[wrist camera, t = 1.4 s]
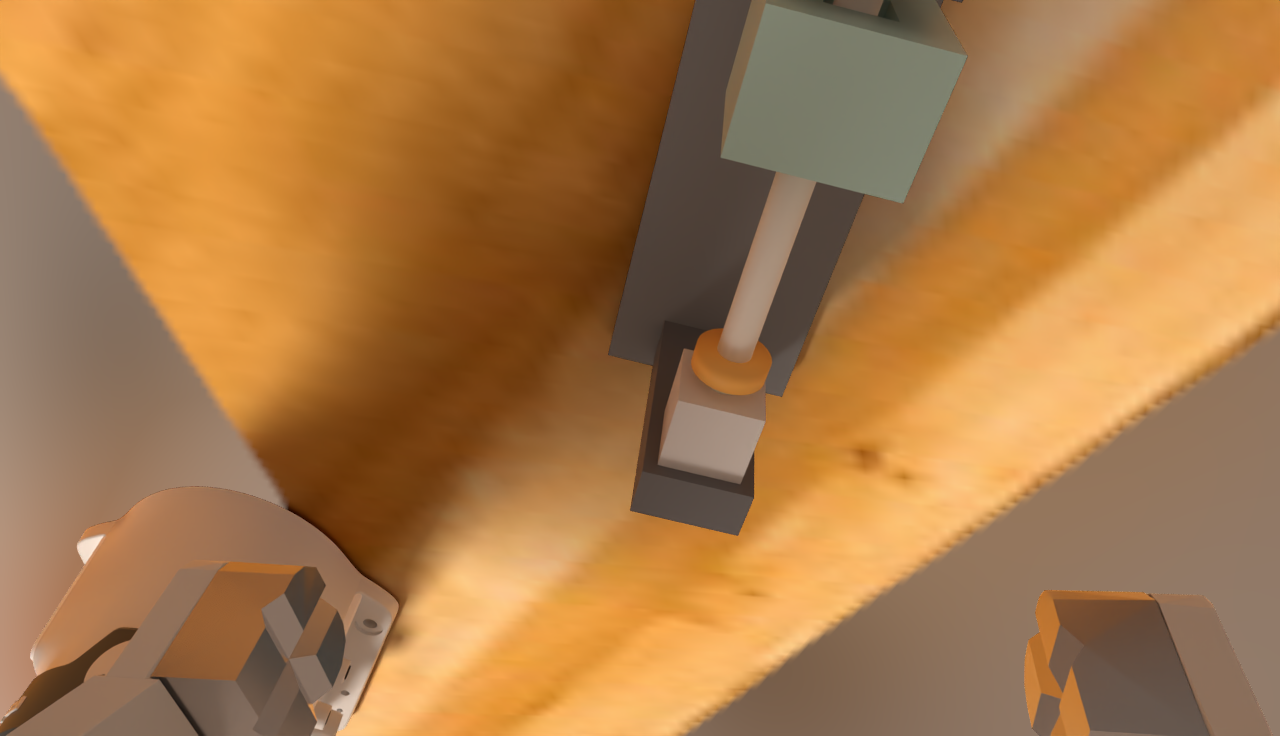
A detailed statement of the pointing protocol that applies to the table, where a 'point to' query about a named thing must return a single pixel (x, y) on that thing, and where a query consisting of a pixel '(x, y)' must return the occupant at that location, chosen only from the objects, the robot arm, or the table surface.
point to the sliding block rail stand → (719, 288)
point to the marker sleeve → (840, 91)
